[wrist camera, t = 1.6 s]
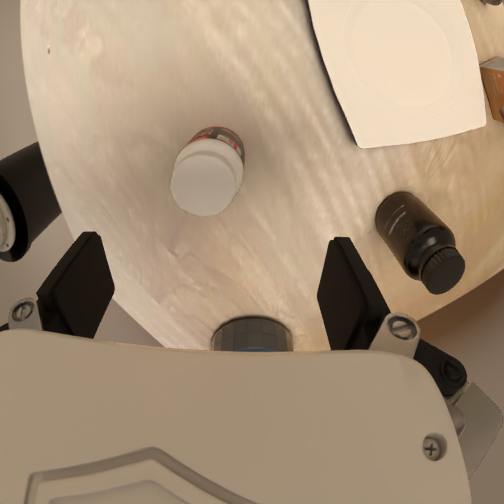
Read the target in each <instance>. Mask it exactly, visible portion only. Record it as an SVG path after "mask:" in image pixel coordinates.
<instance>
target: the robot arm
mask: <svg viewBox="0 0 504 504" xmlns="http://www.w3.org/2000/svg"><path fill="white" fill-rule="evenodd" d="M15 239H16V224H15V219H14V216H13V213H12V210H11V208H10V206H9V204H8V202H7V201H6V199H5V197H4V196H3V195H2V194H1V193H0V252H5V251H7V250H9V249H10V248H11V247H12V246H13V244H14V242H15ZM114 290H115V286H114V282H113V279H112V276H111V272H110V269H109V265H108V262H107V258H106V255H105V251H104V247H103V243H102V239H101V237H100V235H98V234H97V233H96V232H83V233H82V234H81V235H80V236H79V237H78V238H77V240H76V241H75V242H74V243H73V244H72V246H71V247H70V248H69V249H68V251H67V252H66V253H65V254H64V256H63V257H62V258H61V260H60V261H59V262H58V263H57V265H56V266H55V267H54V269H53V270H52V271H51V273H50V274H49V276H48V277H47V278H46V280H45V281H44V282H43V284H42V285H41V287H40V288H39V290H38V291H37V293H36V294H37V296H38V300H37V302H36V301H35V300H34V299H32V298H25V299H22V300H20V301H18V302H17V303H16V304H15V305H14V306H13V307H12V308H11V309H10V312H9V315H8V323H6V324H4V325H3V326H1V327H0V504H472V501H471V494H470V487H469V482H468V481H469V479H470V478H471V476H472V475H473V473H474V472H475V471H476V469H477V468H478V466H479V464H480V463H481V461H482V460H483V458H484V457H485V455H486V454H487V452H488V450H489V449H490V447H491V445H492V443H493V442H494V440H495V438H496V436H497V434H498V433H499V431H500V429H501V427H502V424H503V415H502V412H501V410H500V409H499V407H498V406H497V405H496V404H495V403H494V402H493V401H492V400H491V399H490V398H489V397H488V396H487V395H486V394H485V393H484V392H483V391H482V390H481V389H480V388H479V387H478V386H477V385H476V384H475V383H474V382H473V381H471V382H470V383H469V382H468V381H467V374H466V370H465V368H464V366H463V365H462V364H461V362H460V361H458V360H457V359H455V358H454V357H452V356H450V355H448V354H447V353H445V352H443V351H441V350H439V349H438V348H436V347H434V346H432V345H431V344H429V343H427V342H425V341H424V340H422V339H420V335H421V330H420V327H419V325H418V324H417V322H416V321H415V320H414V319H413V318H412V317H410V316H409V315H407V314H404V313H399V312H394V313H391V312H390V310H389V308H388V306H387V304H386V302H385V300H384V298H383V296H382V294H381V292H380V290H379V288H378V286H377V284H376V282H375V281H374V279H373V277H372V275H371V273H370V272H369V270H367V268H366V266H365V264H364V262H363V261H362V259H361V257H360V255H359V253H358V252H357V250H356V248H355V246H354V245H353V243H352V241H351V239H350V238H349V237H335V238H334V240H330V241H329V245H328V249H327V254H326V258H325V263H324V267H323V271H322V275H321V280H320V284H319V288H318V292H317V299H318V303H319V307H320V310H321V314H322V318H323V321H324V325H325V329H326V332H327V336H328V340H329V344H330V348H331V351H302V352H234V351H208V350H190V349H176V348H164V347H153V346H143V345H134V344H125V343H117V342H110V341H103V340H96V339H93V338H94V336H95V333H96V331H97V329H98V327H99V324H100V322H101V320H102V318H103V315H104V313H105V311H106V309H107V307H108V305H109V302H110V300H111V298H112V296H113V294H114Z"/></svg>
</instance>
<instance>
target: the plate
mask: <svg viewBox="0 0 504 504" xmlns="http://www.w3.org/2000/svg"><path fill="white" fill-rule="evenodd" d="M307 2H308V7H309V12H310V17H311V22H312V27H313V30H314V34H315V37H316V40H317V44H318V47H319V51H320V54H321V58H322V61H323V64H324V66H325V69H326V71H327V74H328V77H329V80H330V82H331V85H332V88H333V91H334V94H335V96H336V98H337V100H338V103H339V105H340V107H341V109H342V112H343V114H344V116H345V119H346V121H347V123H348V126H349V128H350V131H351V133H352V136H353V138H354V141H355V143H356V145H357V146H358V147H360V148H361V149H364V148H372V147H381V146H391V145H401V144H410V143H416V142H422V141H428V140H433V139H438V138H442V137H447V136H451V135H455V134H458V133H462V132H465V131H469V130H472V129H476V128H479V127H483V126H485V124H486V113H485V102H484V94H483V87H482V80H481V74H480V68H479V63H478V58H477V53H476V49H475V45H474V41H473V37H472V34H471V31H470V27H469V24H468V21H467V18H466V15H465V12H464V9H463V6H462V3H461V1H460V0H307Z"/></svg>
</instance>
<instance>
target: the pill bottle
mask: <svg viewBox="0 0 504 504" xmlns="http://www.w3.org/2000/svg"><path fill="white" fill-rule="evenodd" d="M244 157H245V153H244V147H243V144H242V141H241V140H240V138H239V137H238V136H237V135H236V134H235V133H234V132H233V131H231V130H229V129H227V128H224V127H209V128H206V129H203V130H201V131H200V132H198V133H197V134H196V135H195V136H194V137H193V138H192V139H191V140H190V142H189V143H188V144H187V145H186V146H185V147H184V148H183V149H182V150H181V151H180V153H179V154H178V156H177V158H176V160H175V163H174V168H173V174H172V177H171V182H170V188H171V193H172V196H173V198H174V200H175V202H176V203H177V204H178V205H179V207H180V208H182V209H183V210H184V211H186V212H188V213H190V214H192V215H196V216H211V215H215V214H217V213H220V212H221V211H223V210H224V209H225V208H227V207H228V206H229V204H230V203H231V202H232V200H233V198H234V196H235V195H236V193H237V192H238V191H239V189H240V187H241V185H242V182H243V178H244Z"/></svg>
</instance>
